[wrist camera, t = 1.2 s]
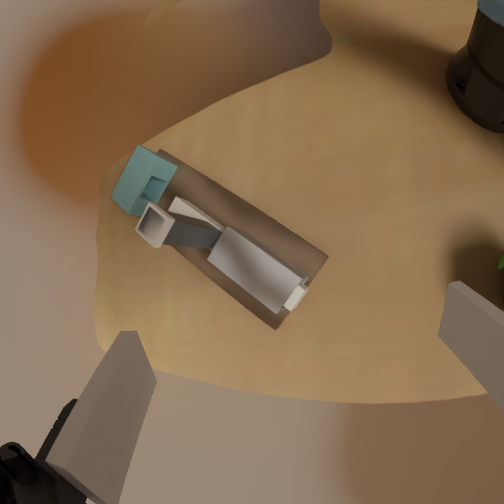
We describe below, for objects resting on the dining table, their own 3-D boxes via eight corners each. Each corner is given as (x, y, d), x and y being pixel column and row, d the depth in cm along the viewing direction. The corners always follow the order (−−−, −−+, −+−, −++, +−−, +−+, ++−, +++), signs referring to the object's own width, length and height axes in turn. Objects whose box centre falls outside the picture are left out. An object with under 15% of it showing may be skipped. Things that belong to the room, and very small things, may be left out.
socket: (157, 153, 45) (138, 144, 41) (178, 166, 44) (158, 157, 39) (130, 202, 47) (110, 197, 42) (149, 218, 45) (128, 214, 41)
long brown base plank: (165, 151, 47) (141, 139, 41) (328, 256, 36) (322, 254, 30) (133, 208, 49) (108, 202, 43) (278, 327, 38) (263, 339, 32)
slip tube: (187, 199, 41) (117, 176, 28) (309, 287, 34) (278, 303, 21) (177, 217, 42) (105, 201, 28) (295, 307, 35) (255, 335, 21)
